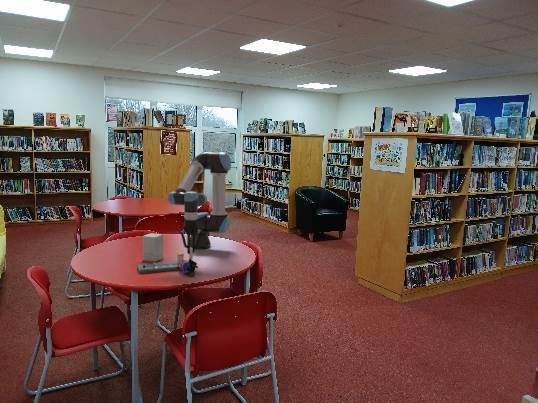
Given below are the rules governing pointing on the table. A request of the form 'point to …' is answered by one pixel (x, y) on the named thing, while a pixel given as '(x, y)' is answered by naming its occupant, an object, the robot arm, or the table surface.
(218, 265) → the table surface
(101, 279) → the table surface
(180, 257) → the block
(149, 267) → the panel
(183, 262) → the character figurine
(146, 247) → the supplement box
